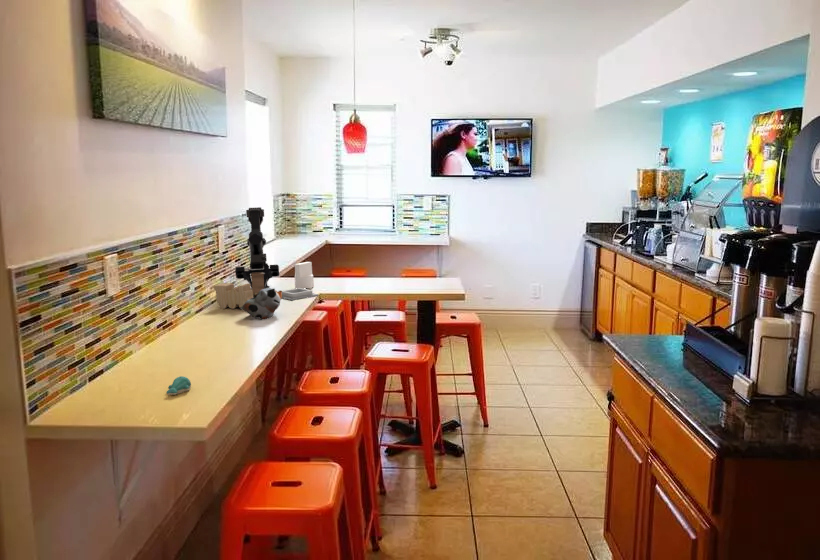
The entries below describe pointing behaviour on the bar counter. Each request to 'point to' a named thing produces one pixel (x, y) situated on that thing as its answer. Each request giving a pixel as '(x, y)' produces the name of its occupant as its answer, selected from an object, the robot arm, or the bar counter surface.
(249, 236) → the robot arm
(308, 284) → the cylinder with rectangular tab
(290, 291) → the bay tray
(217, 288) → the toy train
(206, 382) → the bar counter surface
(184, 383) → the whale figurine
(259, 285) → the tapered wooden block
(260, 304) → the lucky cat figurine
